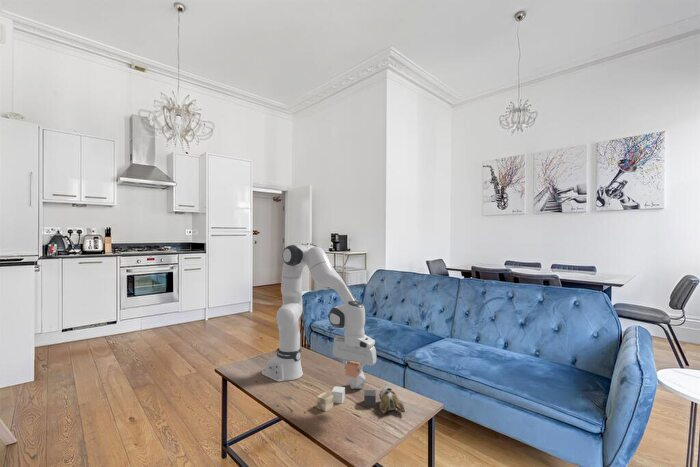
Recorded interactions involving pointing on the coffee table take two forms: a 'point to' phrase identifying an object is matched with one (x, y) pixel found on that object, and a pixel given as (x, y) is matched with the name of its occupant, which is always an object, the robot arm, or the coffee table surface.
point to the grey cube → (338, 394)
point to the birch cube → (325, 401)
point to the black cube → (369, 398)
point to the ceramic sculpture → (389, 400)
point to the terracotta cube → (352, 369)
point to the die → (357, 381)
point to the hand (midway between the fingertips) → (353, 370)
